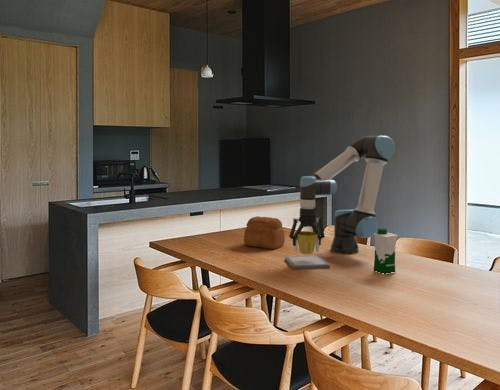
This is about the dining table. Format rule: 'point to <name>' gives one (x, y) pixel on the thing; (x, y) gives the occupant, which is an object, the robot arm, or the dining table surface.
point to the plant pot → (307, 242)
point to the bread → (264, 233)
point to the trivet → (307, 262)
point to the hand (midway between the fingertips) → (306, 252)
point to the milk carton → (384, 251)
